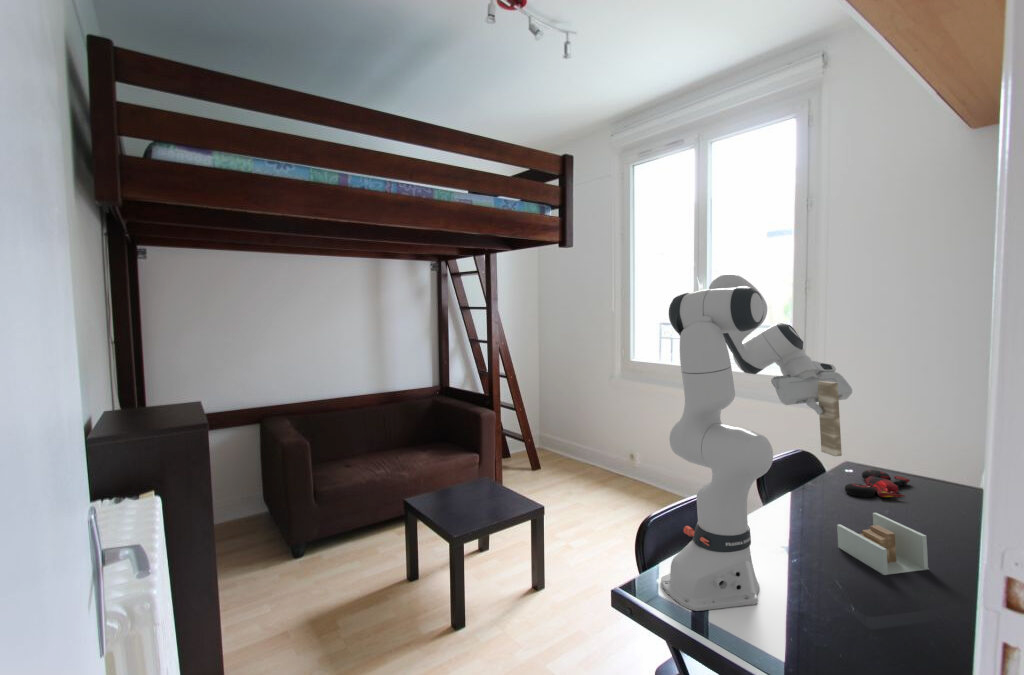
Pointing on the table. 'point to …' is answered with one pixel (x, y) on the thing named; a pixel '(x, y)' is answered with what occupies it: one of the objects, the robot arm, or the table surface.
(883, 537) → the offcut stack
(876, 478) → the toy motorcycle
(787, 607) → the table surface
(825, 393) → the birch board
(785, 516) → the table surface
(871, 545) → the offcut rack
